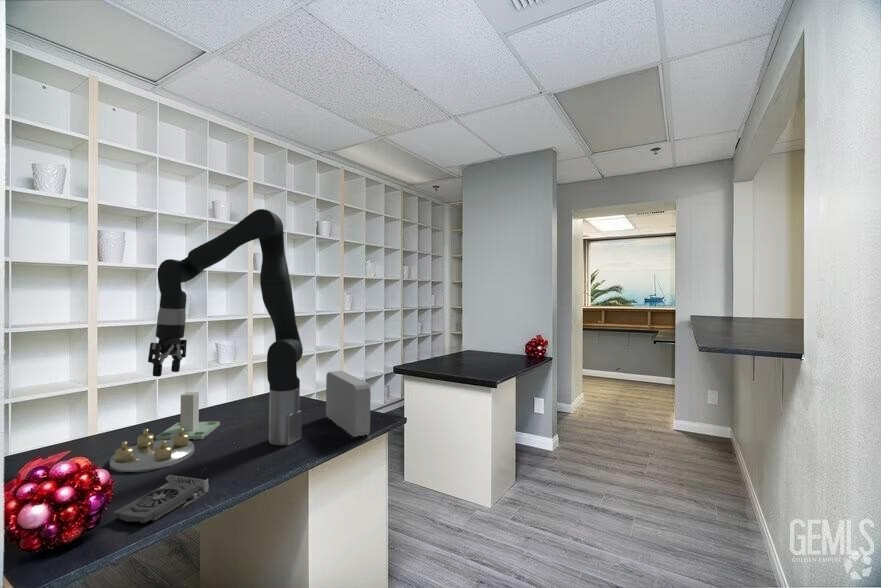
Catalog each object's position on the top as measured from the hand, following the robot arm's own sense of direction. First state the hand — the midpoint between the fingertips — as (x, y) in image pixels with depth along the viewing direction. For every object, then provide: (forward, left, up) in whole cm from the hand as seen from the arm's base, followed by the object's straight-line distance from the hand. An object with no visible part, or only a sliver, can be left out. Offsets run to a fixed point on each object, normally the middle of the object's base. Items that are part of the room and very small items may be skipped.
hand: (166, 373), depth 129 cm
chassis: (-8, +8, -22) cm, 25 cm away
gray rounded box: (-42, -38, -22) cm, 60 cm away
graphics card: (-35, +24, -23) cm, 48 cm away
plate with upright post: (+2, -10, -22) cm, 24 cm away
